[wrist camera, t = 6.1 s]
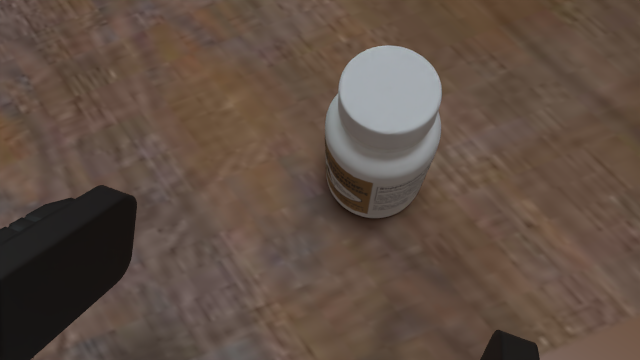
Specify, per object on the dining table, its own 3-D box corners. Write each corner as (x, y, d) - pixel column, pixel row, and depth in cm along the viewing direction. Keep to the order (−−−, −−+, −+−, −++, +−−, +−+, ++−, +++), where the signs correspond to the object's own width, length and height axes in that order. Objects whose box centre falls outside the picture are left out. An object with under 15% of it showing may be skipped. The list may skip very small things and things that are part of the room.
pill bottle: (311, 152, 25) (303, 58, 18) (395, 120, 26) (420, 16, 19) (348, 235, 24) (356, 168, 17) (437, 199, 24) (481, 118, 17)
